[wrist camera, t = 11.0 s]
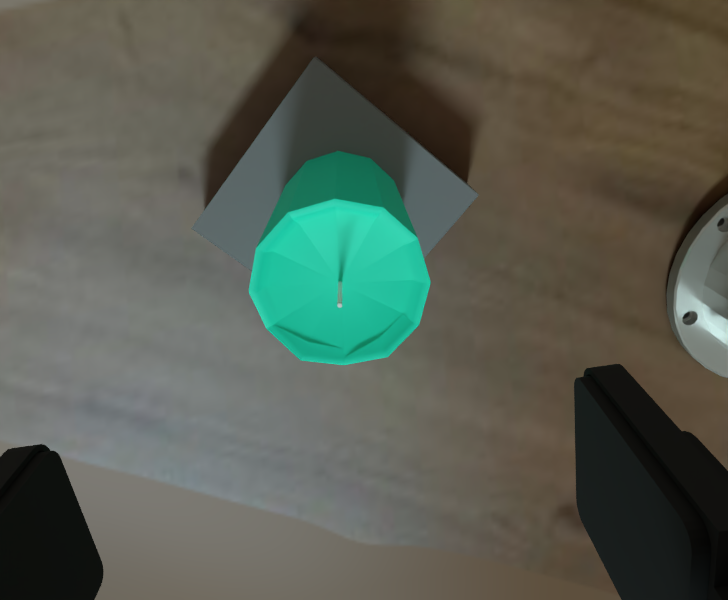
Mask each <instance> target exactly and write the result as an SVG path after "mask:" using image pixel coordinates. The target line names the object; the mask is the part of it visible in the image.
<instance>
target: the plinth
mask: <svg viewBox="0 0 728 600" xmlns="http://www.w3.org/2000/svg"><path fill="white" fill-rule="evenodd" d="M336 151H341V152H346V153H350V154H355V155H359V156H363V157H368V158H371V159H372V160H373V161H374V162H375V163H376V164H377V165H378V166H379V167H380V168H381V169H382V170H383V171H385V172H386V173H387V174H388V175H389V176H390V177H391V178H392V179H393V180H394V182H395V184H396V187H397V189H398V191H399V194H400V196H401V199H402V201H403V204H404V206H405V208H406V211H407V213H408V216H409V218H410V220H411V223H412V225H413V228H414V230H415V232H416V235H417V237H418V240H419V244H420V247H421V251H422V254H423V258H425V257H426V255H427V254H428V253H429V252H430V251H431V250H432V248H433V247H434V246H435V245H436V244H437V243H438V242H439V240H440V239H441V238H442V237H443V236H444V235H445V233H446V232H447V231H448V230H449V229H450V228H451V227H452V225H453V224H454V223H455V222H456V221H457V220H458V218H459V217H460V216H461V215H462V214H463V213H464V212H465V210H466V209H467V208H468V207H469V206H470V205H471V203H472V202H473V201H474V200H475V199H476V198H477V196H478V194H477V193H476V192H475V191H474V190H473V189H472V188H471V187H470V186H469V185H468V184H467V183H466V182H465V181H464V180H463V179H461V178H460V177H459V176H458V175H457V174H455V173H454V172H453V171H452V170H451V169H450V168H448V167H447V166H446V165H445V164H444V163H442V162H441V161H440V160H439V159H438V158H436V157H435V156H434V155H433V154H432V153H431V152H429V151H428V150H427V149H426V148H425V147H423V146H422V145H421V144H420V143H419V142H417V141H416V140H415V139H414V138H413V137H412V136H410V135H409V134H408V133H407V132H406V131H404V130H403V129H402V128H401V127H400V126H398V125H397V124H396V123H395V122H394V121H393V120H391V119H390V118H389V117H388V116H387V115H385V114H384V113H383V112H382V111H381V110H379V109H378V108H377V107H376V106H375V105H373V104H372V103H371V102H370V101H369V100H368V99H366V98H365V97H364V96H363V95H362V94H360V93H359V92H358V91H357V90H356V89H354V88H353V87H352V86H351V85H350V84H349V83H347V82H346V81H345V80H344V79H343V78H341V77H340V76H339V75H338V74H337V73H335V72H334V71H333V70H332V69H331V68H330V67H328V66H327V65H326V64H325V63H324V62H322V61H321V60H320V59H319V58H318V57H314V58H313V59H312V61H311V62H310V63H309V65H308V66H307V67H306V69H305V70H304V72H303V73H302V74H301V76H300V77H299V79H298V80H297V81H296V83H295V84H294V86H293V87H292V88H291V90H290V91H289V93H288V94H287V95H286V97H285V98H284V100H283V101H282V102H281V104H280V105H279V107H278V108H277V109H276V111H275V112H274V114H273V115H272V116H271V118H270V119H269V121H268V122H267V123H266V125H265V126H264V128H263V129H262V130H261V132H260V133H259V135H258V136H257V137H256V139H255V140H254V142H253V143H252V144H251V146H250V147H249V149H248V150H247V151H246V153H245V154H244V156H243V157H242V158H241V160H240V161H239V163H238V164H237V165H236V167H235V168H234V169H233V171H232V172H231V174H230V175H229V176H228V178H227V179H226V181H225V182H224V183H223V185H222V186H221V188H220V189H219V190H218V192H217V193H216V195H215V196H214V197H213V199H212V200H211V202H210V203H209V204H208V206H207V207H206V209H205V210H204V211H203V213H202V214H201V216H200V217H199V218H198V220H197V221H196V223H195V224H194V225H193V227H192V228H191V229H193V230H194V231H196V232H197V233H198V234H200V235H201V236H203V237H204V238H206V239H207V240H208V241H210V242H211V243H213V244H214V245H215V246H217V247H218V248H220V249H221V250H223V251H224V252H225V253H227V254H228V255H230V256H231V257H232V258H234V259H235V260H237V261H238V262H240V263H241V264H242V265H244V266H245V267H247V268H248V269H249V270H251V271H252V269H253V263H254V256H255V250H256V247H257V245H258V243H259V241H260V238H261V236H262V234H263V232H264V230H265V228H266V226H267V224H268V221H269V219H270V217H271V215H272V213H273V211H274V209H275V207H276V204H277V202H278V200H279V198H280V196H281V194H282V192H283V190H284V187H285V185H286V184H287V183H288V182H289V181H290V179H291V178H292V177H293V176H294V175H295V174H296V173H297V172H298V170H299V169H300V168H301V167H302V166H303V165H304V164H305V162H306V161H308V160H311V159H314V158H317V157H320V156H323V155H327V154H330V153H333V152H336Z"/></svg>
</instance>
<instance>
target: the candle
mask: <svg viewBox="0 0 728 600" xmlns="http://www.w3.org/2000/svg"><path fill="white" fill-rule="evenodd" d="M430 283H431V282H430V278H429V275H428V272H427V268H426V265H425V261H424V258H423V254H422V251H421V247H420V244H419V240H418V237H417V235H416V232H415V230H414V228H413V225H412V223H411V220H410V218H409V216H408V213H407V211H406V208H405V206H404V204H403V201H402V199H401V196H400V194H399V191H398V189H397V187H396V184H395V182H394V180H393V179H392V178H391V177H390V176H389V175H388V174H387V173H386V172H385V171H383V170H382V169H381V168H380V167H379V166H378V165H377V164H376V163H375V162H374V161H373V160H372V159H371V158H368V157H363V156H359V155H355V154H350V153H346V152H341V151H336V152H333V153H330V154H327V155H323V156H320V157H317V158H314V159H311V160H308V161H306V162H305V164H304V165H303V166H302V167H301V168H300V169H299V170H298V172H297V173H296V174H295V175H294V176H293V177H292V178H291V179H290V181H289V182H288V183H287V184H286V185H285V187H284V190H283V192H282V194H281V196H280V198H279V200H278V202H277V204H276V207H275V209H274V211H273V213H272V215H271V217H270V219H269V221H268V224H267V226H266V228H265V230H264V232H263V234H262V236H261V238H260V241H259V243H258V245H257V247H256V250H255V256H254V263H253V269H252V275H251V281H250V287H249V294H250V296H251V298H252V300H253V302H254V304H255V306H256V308H257V310H258V312H259V314H260V316H261V318H262V320H263V322H264V325H265V327H266V329H267V330H268V331H269V332H271V333H272V334H273V335H274V336H275V337H276V338H277V339H278V340H279V341H280V342H281V343H282V344H283V345H284V346H286V347H287V348H288V349H289V350H290V351H291V352H292V353H293V354H294V355H295V356H296V357H297V358H298V359H300V360H302V361H311V362H320V363H329V364H339V365H348V364H353V363H359V362H364V361H369V360H374V359H380V358H385V357H388V356H389V355H390V354H391V353H392V352H393V351H394V350H395V349H396V348H397V347H398V346H399V345H400V344H401V343H402V342H403V341H404V340H405V339H406V338H407V337H408V336H409V335H410V334H411V333H412V332H413V331H414V330H415V329H416V328H417V327H418V326H419V323H420V319H421V316H422V312H423V309H424V305H425V301H426V298H427V294H428V291H429V287H430Z"/></svg>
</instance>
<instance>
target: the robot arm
mask: <svg viewBox="0 0 728 600" xmlns="http://www.w3.org/2000/svg"><path fill="white" fill-rule="evenodd" d="M666 295H667V313H668V316H669V320H670V324H671V327H672V330H673V332H674V334H675V335H676V337H677V339H678V341H679V343H680V344H681V346H682V347H683V348H684V349H685V350H686V351H687V352H688V353H689V354H690V355H691V356H692V357H693V358H694V359H695V360H697V361H698V362H699V363H700V364H702V365H703V366H704V367H705V368H707V369H709V370H711V371H712V372H714V373H716V374H718V375H720V376H722V377H726V378H728V194H727V195H725V196H724V197H723V198H721V199H720V200H719V201H718V202H716V203H715V204H714V205H713V206H712V207H711V208H710V209H709V210H708V211H707V212H706V213H705V214H703V215H702V217H701V218H700V219H699V220H698V222H697V223H696V224H695V225H694V227H693V228H692V229H691V230H690V232H689V233H688V234H687V236H686V238H685V240H684V241H683V243H682V245H681V247H680V248H679V250H678V252H677V254H676V257H675V260H674V262H673V265H672V268H671V271H670V274H669V280H668V287H667V293H666ZM574 399H575V451H576V499H577V507H578V512H579V515H580V518H581V521H582V523H583V525H584V527H585V529H586V531H587V533H588V535H589V537H590V539H591V541H592V542H593V544H594V546H595V548H596V550H597V552H598V554H599V556H600V558H601V560H602V562H603V564H604V566H605V568H606V570H607V572H608V574H609V576H610V578H611V580H612V582H613V584H614V586H615V588H616V590H617V592H618V594H619V596H620V597H621V599H622V600H728V471H727V470H726V469H725V468H724V466H723V465H722V464H721V463H720V462H719V461H718V460H717V459H716V458H715V457H714V456H713V455H712V454H711V452H710V451H709V450H708V449H707V448H706V447H705V446H704V445H703V444H702V443H701V442H700V441H699V440H698V438H696V437H695V436H694V435H693V434H692V433H690V432H686V431H681V430H680V429H679V428H678V427H677V426H676V425H675V424H674V423H673V421H672V420H671V419H670V418H669V417H668V416H667V415H666V414H665V413H664V411H663V410H662V409H661V408H660V407H659V406H658V405H657V404H656V403H655V401H654V400H653V399H652V398H651V397H650V396H649V395H648V394H647V393H646V392H645V390H644V389H643V388H642V387H641V386H640V385H639V384H638V383H637V382H636V380H635V379H634V378H633V377H632V376H631V375H630V374H629V373H628V372H627V370H626V369H625V368H624V367H623V366H622V365H620V364H614V365H607V366H599V367H592V368H587V369H586V370H585V372H584V377H580V378H576V379H575V383H574ZM102 579H103V565H102V561H101V559H100V556H99V554H98V551H97V549H96V546H95V544H94V541H93V539H92V536H91V534H90V531H89V529H88V526H87V523H86V521H85V518H84V516H83V513H82V511H81V509H80V506H79V503H78V501H77V498H76V496H75V493H74V491H73V488H72V486H71V483H70V481H69V478H68V476H67V473H66V470H65V468H64V465H63V463H62V460H61V458H60V456H59V454H58V453H57V452H55V451H50V449H49V448H48V447H47V446H46V445H42V444H40V445H33V446H25V447H18V448H12V449H8V450H7V451H6V452H4V453H3V455H2V456H1V457H0V600H94V599H95V597H96V595H97V593H98V590H99V588H100V586H101V583H102Z"/></svg>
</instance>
